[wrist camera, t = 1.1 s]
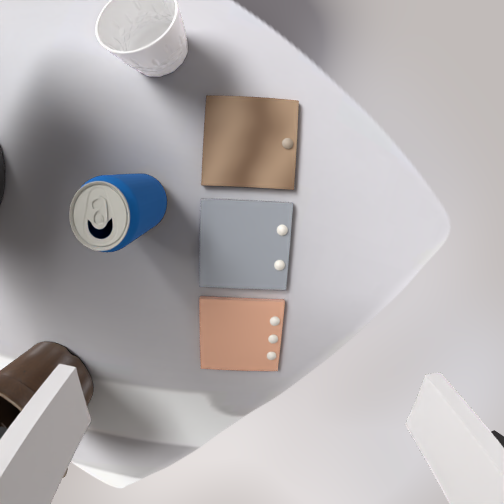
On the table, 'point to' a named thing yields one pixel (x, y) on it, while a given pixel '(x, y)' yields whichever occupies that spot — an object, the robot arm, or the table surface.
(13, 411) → the plant pot
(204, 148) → the one-dot tile
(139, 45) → the white cup
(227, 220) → the two-dot tile
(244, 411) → the table surface
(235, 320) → the three-dot tile
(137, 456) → the table surface
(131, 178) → the beverage can
